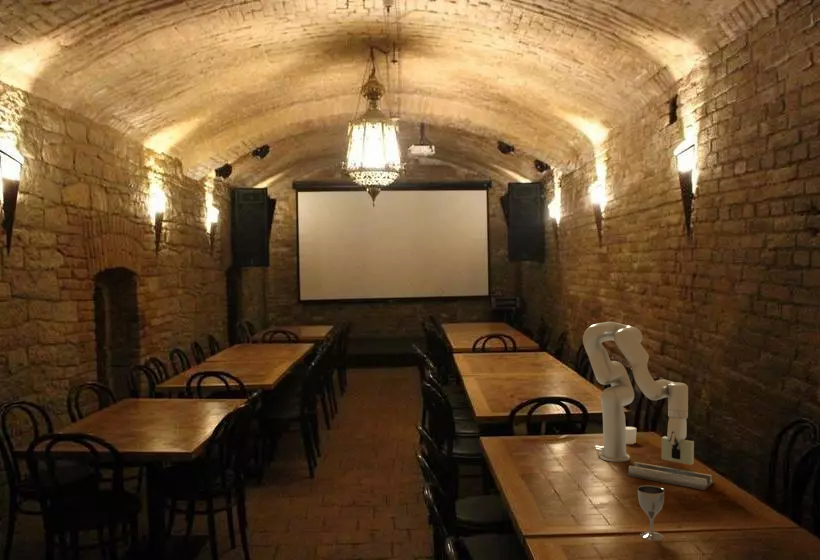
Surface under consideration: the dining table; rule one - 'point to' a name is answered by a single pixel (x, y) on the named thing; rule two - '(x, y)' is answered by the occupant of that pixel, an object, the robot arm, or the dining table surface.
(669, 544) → the dining table surface
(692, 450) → the door panel
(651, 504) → the wine glass
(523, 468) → the dining table surface
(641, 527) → the dining table surface
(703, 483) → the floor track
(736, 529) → the dining table surface
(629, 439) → the shot glass
